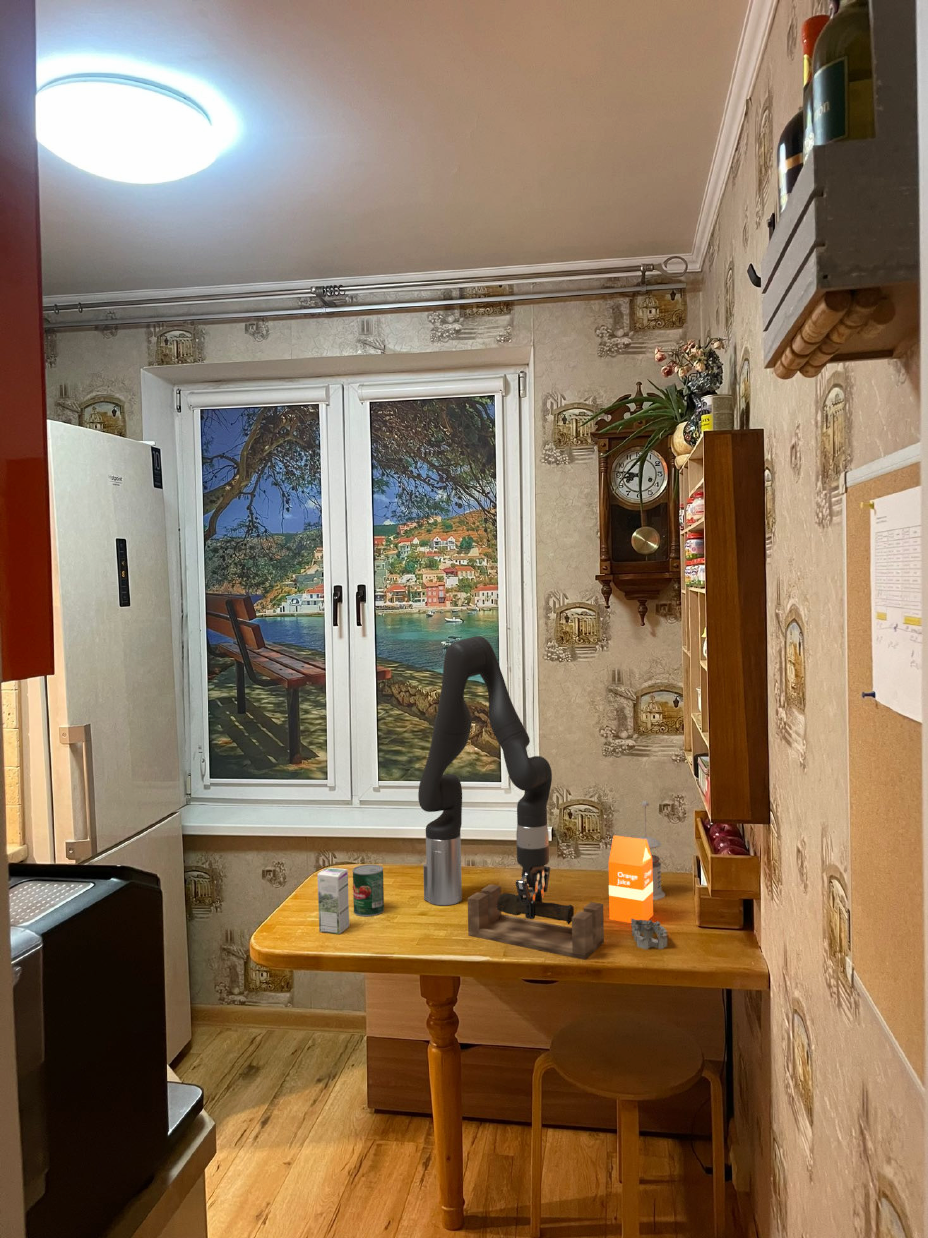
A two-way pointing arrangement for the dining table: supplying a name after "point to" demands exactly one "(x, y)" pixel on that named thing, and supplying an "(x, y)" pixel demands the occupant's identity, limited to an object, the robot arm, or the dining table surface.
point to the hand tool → (542, 909)
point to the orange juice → (630, 880)
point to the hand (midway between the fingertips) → (534, 915)
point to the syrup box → (333, 900)
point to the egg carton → (648, 934)
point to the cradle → (535, 927)
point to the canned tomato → (368, 890)
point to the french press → (654, 862)
